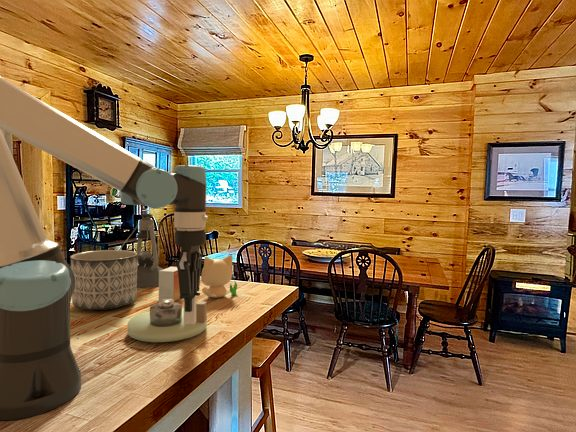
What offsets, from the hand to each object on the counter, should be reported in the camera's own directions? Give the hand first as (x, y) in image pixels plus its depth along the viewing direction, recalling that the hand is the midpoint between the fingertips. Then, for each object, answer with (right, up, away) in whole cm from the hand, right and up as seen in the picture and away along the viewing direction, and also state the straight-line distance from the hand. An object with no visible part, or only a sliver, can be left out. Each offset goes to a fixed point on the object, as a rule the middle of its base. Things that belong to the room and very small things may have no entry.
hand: (190, 322), depth 92 cm
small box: (-16, -2, +36) cm, 39 cm away
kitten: (-1, -2, +40) cm, 40 cm away
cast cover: (-8, -1, +5) cm, 9 cm away
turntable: (-7, -4, +6) cm, 11 cm away
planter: (-34, -2, +27) cm, 44 cm away
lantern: (-34, -1, +56) cm, 65 cm away
